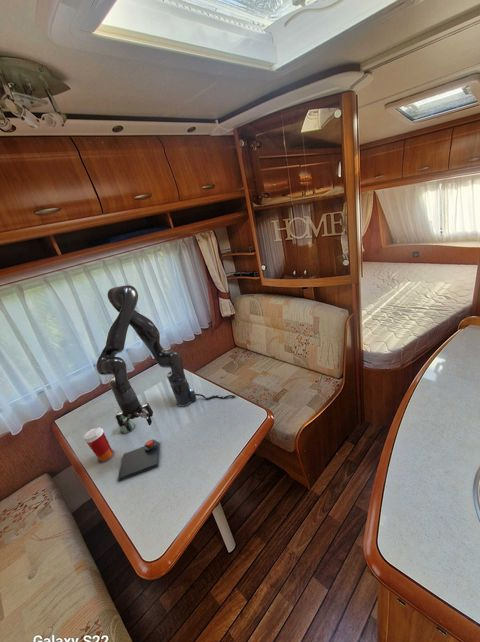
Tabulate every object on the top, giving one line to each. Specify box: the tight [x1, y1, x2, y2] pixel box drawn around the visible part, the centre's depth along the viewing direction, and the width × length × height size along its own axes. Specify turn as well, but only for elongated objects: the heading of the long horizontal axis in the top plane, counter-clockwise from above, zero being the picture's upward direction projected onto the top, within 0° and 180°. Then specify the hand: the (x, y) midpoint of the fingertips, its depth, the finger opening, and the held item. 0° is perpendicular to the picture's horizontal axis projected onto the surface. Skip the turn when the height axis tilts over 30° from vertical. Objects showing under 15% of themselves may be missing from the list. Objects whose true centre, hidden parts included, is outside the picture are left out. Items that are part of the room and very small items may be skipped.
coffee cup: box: [83, 426, 114, 462], centre depth 126 cm, size 8×8×15 cm
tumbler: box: [115, 415, 135, 434], centre depth 144 cm, size 6×6×8 cm
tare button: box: [145, 439, 154, 448], centre depth 126 cm, size 3×3×2 cm
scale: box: [117, 439, 160, 482], centre depth 122 cm, size 16×14×4 cm
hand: (140, 427), depth 122 cm, fingers open, 8 cm apart
